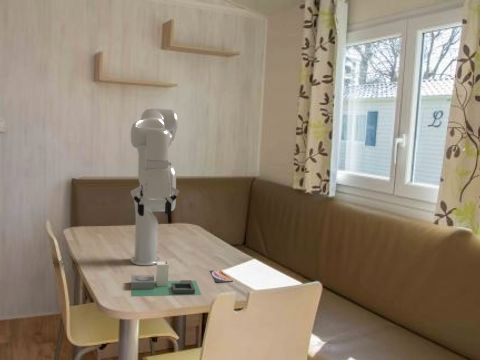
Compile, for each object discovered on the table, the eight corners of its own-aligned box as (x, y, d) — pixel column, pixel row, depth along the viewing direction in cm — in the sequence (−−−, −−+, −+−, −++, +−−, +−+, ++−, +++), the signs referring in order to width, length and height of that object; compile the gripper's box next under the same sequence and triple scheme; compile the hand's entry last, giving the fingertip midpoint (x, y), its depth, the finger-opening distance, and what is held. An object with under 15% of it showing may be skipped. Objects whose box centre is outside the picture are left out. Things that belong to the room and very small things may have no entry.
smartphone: (220, 269, 209) (233, 281, 195) (219, 271, 209) (233, 283, 195) (203, 270, 206) (215, 282, 192) (203, 272, 206) (215, 284, 192)
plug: (156, 282, 185) (156, 261, 184) (167, 282, 186) (167, 261, 185) (156, 286, 181) (157, 264, 180) (167, 286, 182) (168, 264, 181)
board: (131, 284, 185) (131, 273, 185) (195, 283, 190) (196, 273, 190) (131, 299, 170) (131, 288, 169) (201, 298, 175) (201, 287, 174)
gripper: (175, 164, 178) (173, 211, 180) (128, 164, 169) (126, 213, 171) (184, 166, 172) (181, 215, 174) (135, 166, 163) (133, 218, 165)
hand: (154, 214), depth 173 cm, fingers open, 9 cm apart
